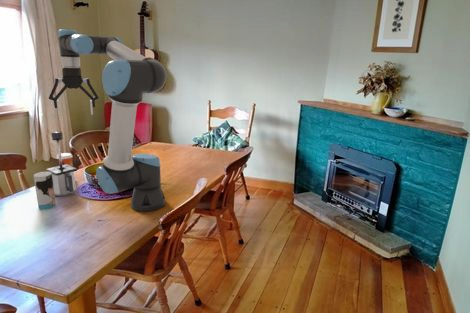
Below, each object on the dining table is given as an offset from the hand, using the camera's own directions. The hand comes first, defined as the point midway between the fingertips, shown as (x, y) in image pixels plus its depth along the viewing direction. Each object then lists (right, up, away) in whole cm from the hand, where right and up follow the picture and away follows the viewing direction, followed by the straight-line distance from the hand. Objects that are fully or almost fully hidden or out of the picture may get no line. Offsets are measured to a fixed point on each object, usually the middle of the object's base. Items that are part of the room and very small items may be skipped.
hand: (76, 114), depth 151 cm
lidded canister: (-8, -37, +7) cm, 38 cm away
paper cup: (-16, -32, +24) cm, 43 cm away
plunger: (-9, -28, +5) cm, 30 cm away
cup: (-9, -41, -7) cm, 43 cm away
